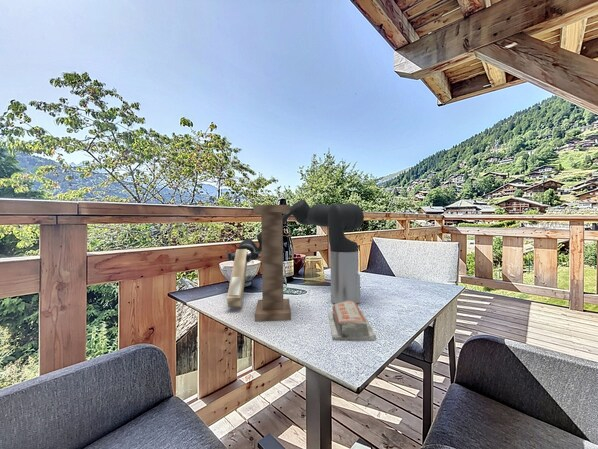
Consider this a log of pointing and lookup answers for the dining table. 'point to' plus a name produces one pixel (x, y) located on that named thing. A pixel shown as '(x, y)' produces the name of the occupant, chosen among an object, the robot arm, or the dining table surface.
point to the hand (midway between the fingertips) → (240, 258)
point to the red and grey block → (349, 323)
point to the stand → (272, 265)
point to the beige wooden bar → (237, 279)
